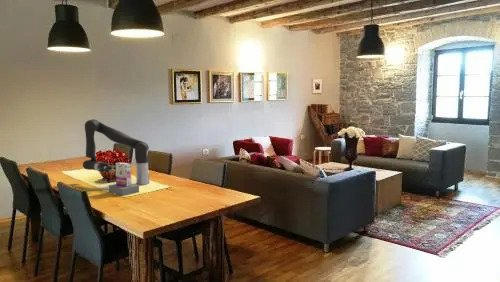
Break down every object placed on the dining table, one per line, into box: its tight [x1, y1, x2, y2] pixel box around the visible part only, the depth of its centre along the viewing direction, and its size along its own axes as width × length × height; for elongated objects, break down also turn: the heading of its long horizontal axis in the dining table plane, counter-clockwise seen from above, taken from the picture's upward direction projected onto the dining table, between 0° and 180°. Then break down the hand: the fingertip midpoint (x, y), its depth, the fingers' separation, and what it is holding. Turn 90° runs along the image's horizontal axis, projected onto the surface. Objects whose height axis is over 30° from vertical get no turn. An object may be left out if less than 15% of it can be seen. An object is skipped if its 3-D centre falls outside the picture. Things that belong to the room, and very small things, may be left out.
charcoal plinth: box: [108, 183, 140, 197], centre depth 284 cm, size 14×17×5 cm
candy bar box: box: [115, 162, 132, 187], centre depth 283 cm, size 11×5×16 cm, turn 60°
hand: (113, 169), depth 290 cm, fingers open, 8 cm apart
